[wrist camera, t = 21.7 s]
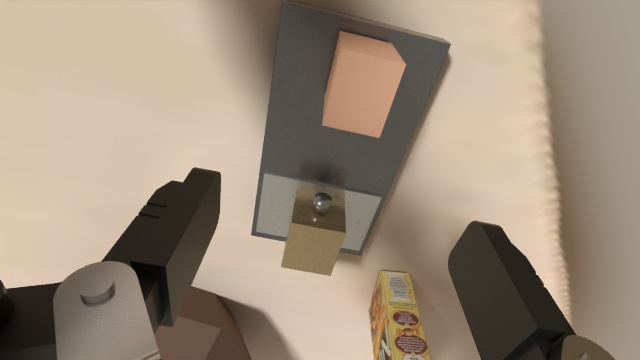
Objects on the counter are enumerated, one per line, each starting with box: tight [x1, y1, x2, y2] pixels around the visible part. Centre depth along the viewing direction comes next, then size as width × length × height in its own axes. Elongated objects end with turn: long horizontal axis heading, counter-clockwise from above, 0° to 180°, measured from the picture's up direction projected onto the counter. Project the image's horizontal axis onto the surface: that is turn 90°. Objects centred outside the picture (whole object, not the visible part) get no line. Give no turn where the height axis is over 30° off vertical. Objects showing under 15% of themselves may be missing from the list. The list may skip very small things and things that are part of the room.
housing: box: [281, 190, 346, 276], centre depth 32 cm, size 8×5×5 cm, turn 168°
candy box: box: [369, 271, 431, 360], centre depth 38 cm, size 9×4×15 cm, turn 175°
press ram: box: [322, 31, 406, 138], centre depth 23 cm, size 5×4×6 cm
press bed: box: [251, 0, 451, 255], centre depth 31 cm, size 24×13×2 cm, turn 168°
